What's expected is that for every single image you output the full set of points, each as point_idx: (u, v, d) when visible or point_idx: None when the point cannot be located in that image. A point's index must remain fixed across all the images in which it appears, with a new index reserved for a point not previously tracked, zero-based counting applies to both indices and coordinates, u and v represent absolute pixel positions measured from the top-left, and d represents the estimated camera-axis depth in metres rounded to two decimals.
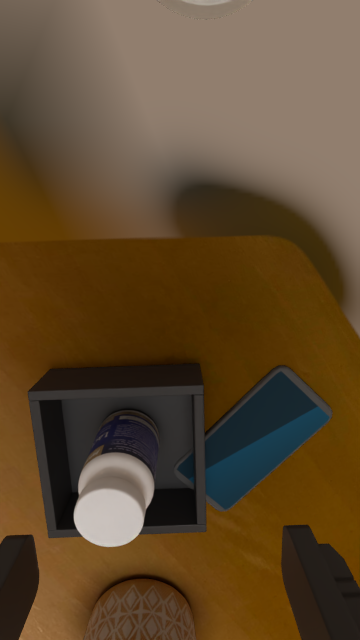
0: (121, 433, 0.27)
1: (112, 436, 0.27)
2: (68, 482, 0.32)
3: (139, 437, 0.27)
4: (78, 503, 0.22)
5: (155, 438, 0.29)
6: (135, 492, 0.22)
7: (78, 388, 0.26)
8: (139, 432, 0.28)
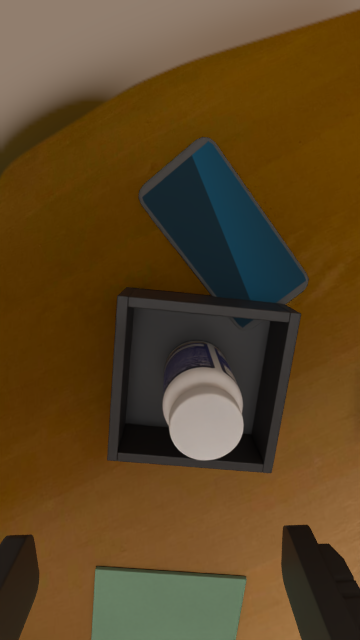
0: None
1: None
2: None
3: (171, 367, 0.26)
4: (183, 452, 0.21)
5: (189, 348, 0.27)
6: (186, 395, 0.21)
7: (110, 415, 0.27)
8: (170, 365, 0.26)
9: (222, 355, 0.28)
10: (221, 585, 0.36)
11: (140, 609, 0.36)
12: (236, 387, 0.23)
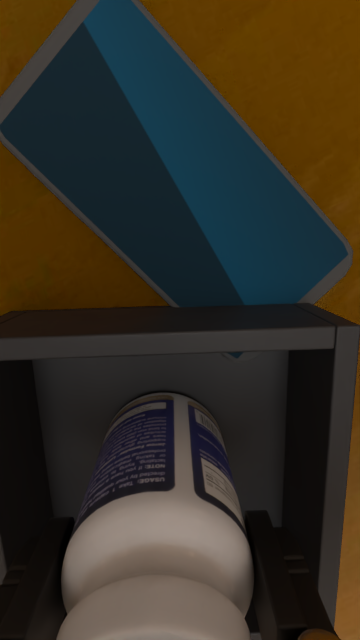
0: None
1: None
2: None
3: (94, 473, 0.12)
4: None
5: (135, 417, 0.14)
6: (80, 620, 0.07)
7: None
8: (97, 462, 0.13)
9: (205, 419, 0.15)
10: None
11: None
12: (231, 534, 0.09)
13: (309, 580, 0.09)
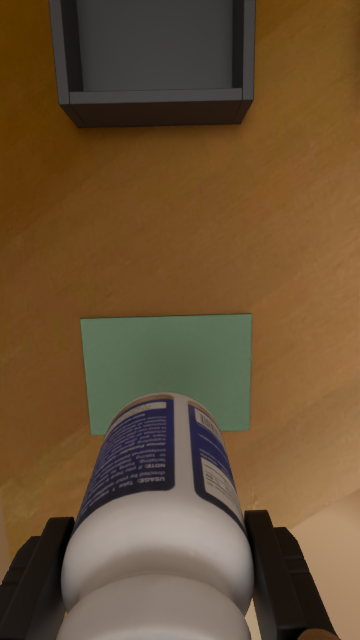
0: None
1: None
2: None
3: (94, 472, 0.12)
4: None
5: (135, 416, 0.14)
6: (80, 619, 0.07)
7: (53, 43, 0.23)
8: (97, 461, 0.13)
9: (205, 419, 0.14)
10: (224, 325, 0.31)
11: (137, 367, 0.32)
12: (231, 533, 0.09)
13: (309, 580, 0.09)
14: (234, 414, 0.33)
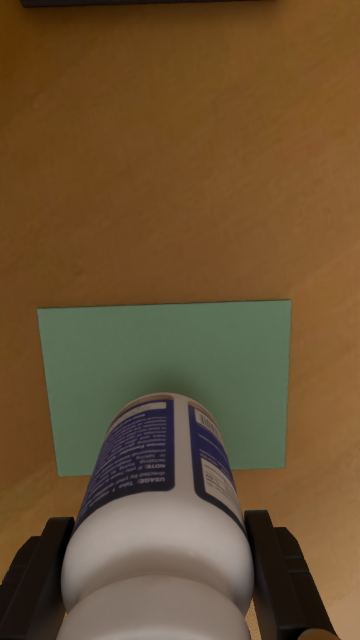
0: None
1: None
2: None
3: (94, 473, 0.12)
4: None
5: (135, 417, 0.14)
6: (80, 620, 0.07)
7: None
8: (97, 462, 0.13)
9: (205, 419, 0.14)
10: (251, 316, 0.21)
11: (123, 380, 0.22)
12: (231, 534, 0.09)
13: (309, 580, 0.09)
14: (263, 446, 0.23)
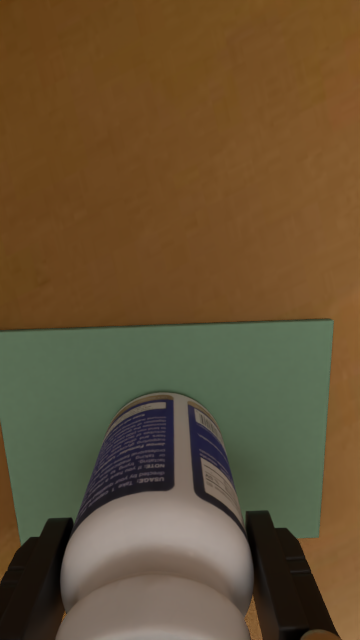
0: None
1: None
2: None
3: (93, 473, 0.12)
4: None
5: (135, 417, 0.14)
6: (79, 619, 0.07)
7: None
8: (97, 461, 0.13)
9: (205, 419, 0.14)
10: (278, 342, 0.16)
11: (105, 426, 0.16)
12: (231, 534, 0.09)
13: (311, 581, 0.09)
14: (291, 510, 0.18)
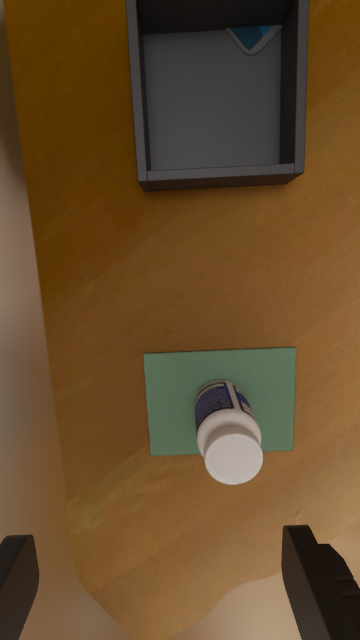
0: (195, 423, 0.32)
1: None
2: None
3: (199, 409, 0.32)
4: (218, 480, 0.27)
5: (211, 389, 0.33)
6: (214, 436, 0.27)
7: (134, 131, 0.27)
8: (199, 406, 0.33)
9: (240, 390, 0.34)
10: (271, 357, 0.35)
11: (193, 396, 0.36)
12: (253, 422, 0.29)
13: None
14: (279, 436, 0.37)
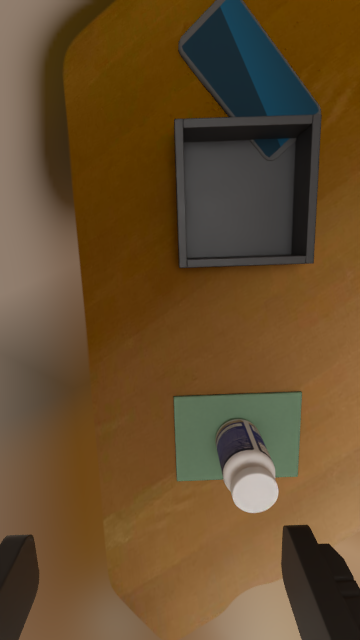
0: (219, 458, 0.39)
1: (220, 465, 0.39)
2: None
3: (223, 447, 0.38)
4: None
5: (232, 428, 0.40)
6: (239, 474, 0.33)
7: None
8: (222, 443, 0.39)
9: (255, 429, 0.41)
10: (281, 400, 0.42)
11: (214, 431, 0.43)
12: (269, 460, 0.36)
13: None
14: (286, 465, 0.44)
